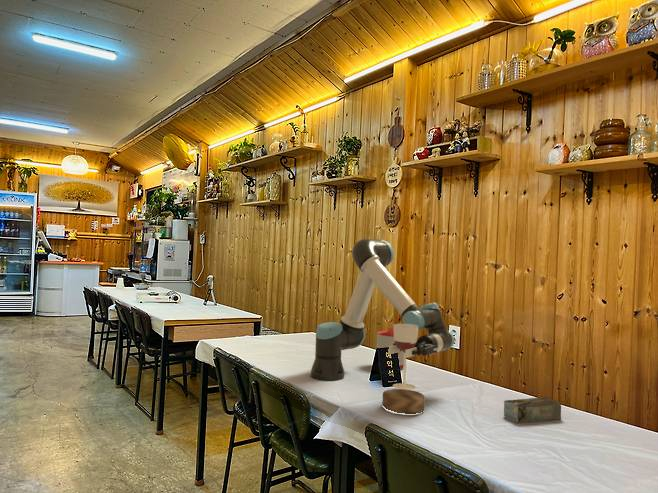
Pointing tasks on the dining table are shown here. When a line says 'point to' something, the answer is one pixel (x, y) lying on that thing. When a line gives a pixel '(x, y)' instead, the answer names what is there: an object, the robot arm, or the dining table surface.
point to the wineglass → (405, 346)
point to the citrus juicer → (389, 343)
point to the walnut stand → (403, 401)
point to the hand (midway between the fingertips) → (397, 352)
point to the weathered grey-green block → (532, 409)
